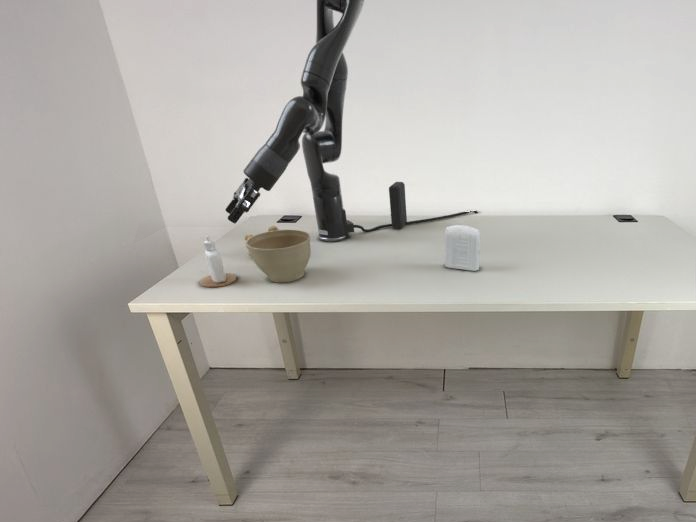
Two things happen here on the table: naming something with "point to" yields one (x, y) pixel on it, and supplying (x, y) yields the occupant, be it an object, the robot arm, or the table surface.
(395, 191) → the card reader
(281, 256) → the planter bowl
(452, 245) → the white arched tombstone
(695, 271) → the table surface
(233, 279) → the cork coaster
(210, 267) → the eye dropper bottle
